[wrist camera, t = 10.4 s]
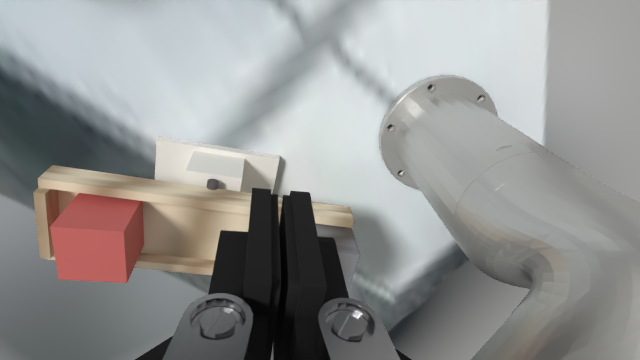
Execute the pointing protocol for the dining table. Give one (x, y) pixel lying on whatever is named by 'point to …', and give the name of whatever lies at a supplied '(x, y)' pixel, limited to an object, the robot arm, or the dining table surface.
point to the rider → (98, 238)
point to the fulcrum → (214, 165)
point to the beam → (178, 217)
